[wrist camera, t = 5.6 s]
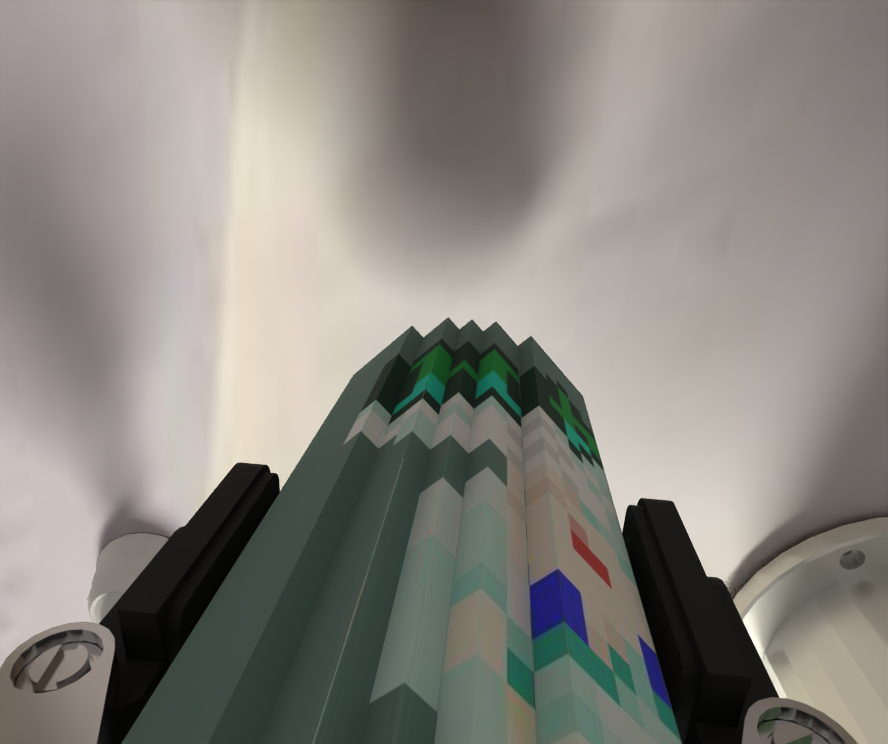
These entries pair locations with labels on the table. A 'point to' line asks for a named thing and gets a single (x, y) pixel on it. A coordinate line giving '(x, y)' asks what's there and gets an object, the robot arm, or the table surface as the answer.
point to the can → (430, 574)
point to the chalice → (120, 570)
